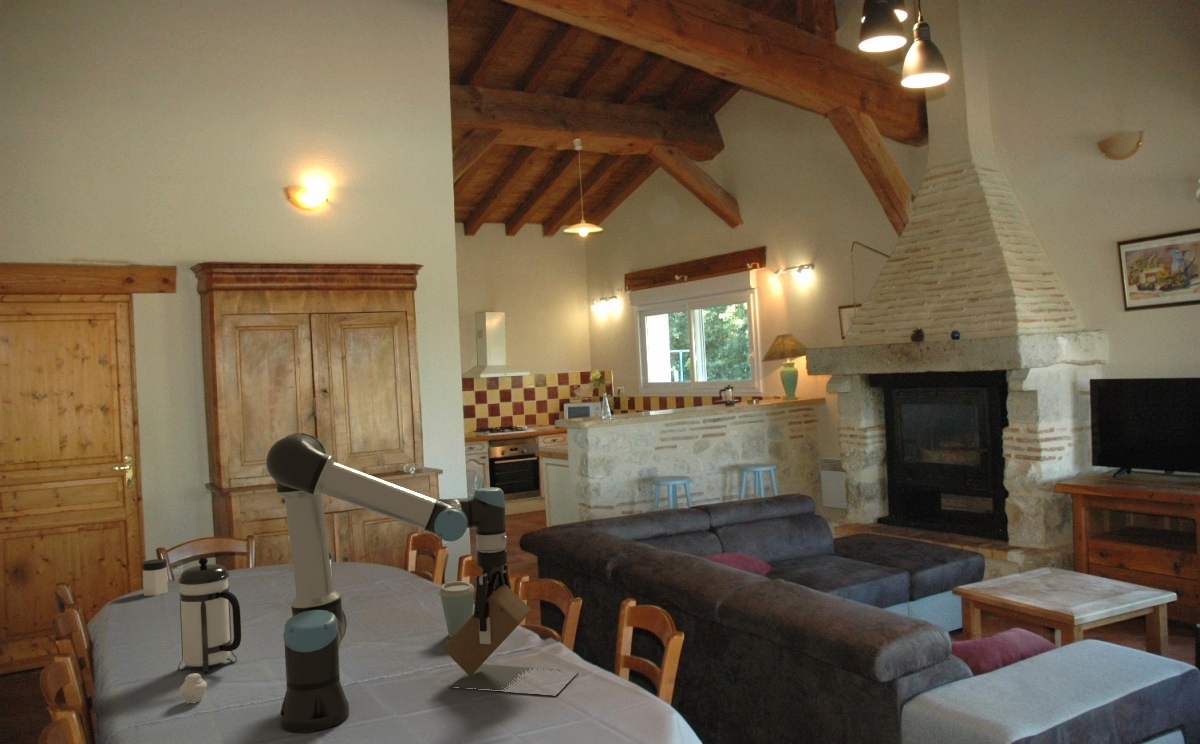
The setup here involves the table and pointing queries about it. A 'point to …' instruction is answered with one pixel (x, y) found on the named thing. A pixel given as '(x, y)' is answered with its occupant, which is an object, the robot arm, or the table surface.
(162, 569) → the jar
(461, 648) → the wooden block
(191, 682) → the beige rounded lump
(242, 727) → the table surface
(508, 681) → the mat
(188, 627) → the coffee press
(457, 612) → the disposable coffee cup
